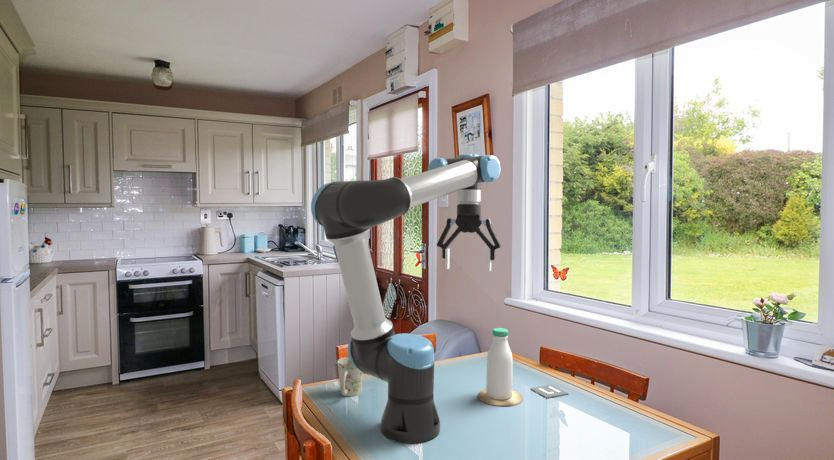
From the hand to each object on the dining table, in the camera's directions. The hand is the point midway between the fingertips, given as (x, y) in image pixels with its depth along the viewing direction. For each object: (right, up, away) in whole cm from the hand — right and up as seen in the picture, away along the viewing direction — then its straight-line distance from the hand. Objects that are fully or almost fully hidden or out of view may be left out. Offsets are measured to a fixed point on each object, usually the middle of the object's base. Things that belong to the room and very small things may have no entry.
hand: (468, 269), depth 159 cm
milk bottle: (+8, -37, -11) cm, 39 cm away
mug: (-37, -37, -10) cm, 53 cm away
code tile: (+24, -37, -6) cm, 45 cm away
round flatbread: (+9, -37, -11) cm, 40 cm away
